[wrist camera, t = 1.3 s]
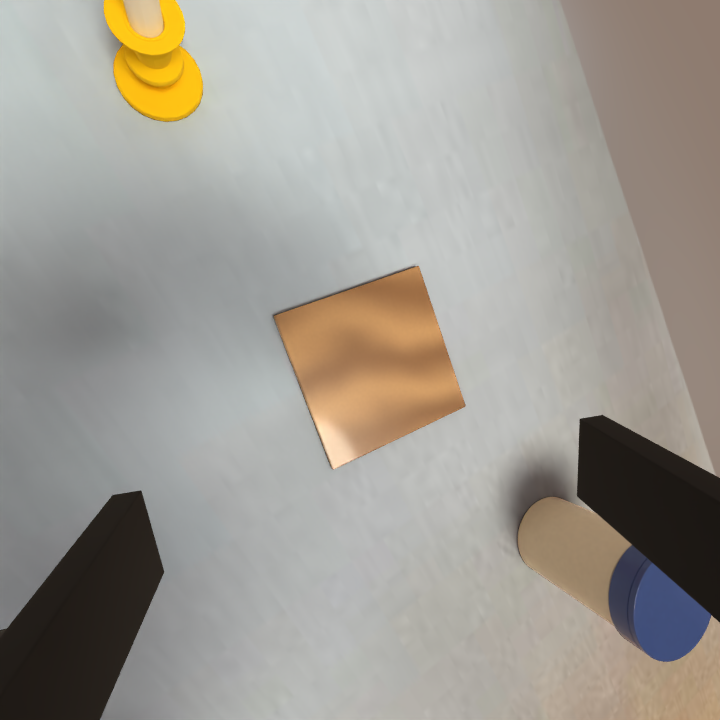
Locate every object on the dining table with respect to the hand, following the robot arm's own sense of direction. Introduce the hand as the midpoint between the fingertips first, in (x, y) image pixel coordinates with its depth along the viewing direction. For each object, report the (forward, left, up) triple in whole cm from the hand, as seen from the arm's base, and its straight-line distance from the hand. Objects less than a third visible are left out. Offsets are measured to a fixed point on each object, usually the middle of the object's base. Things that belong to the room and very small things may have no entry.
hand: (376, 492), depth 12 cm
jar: (-14, -22, -18) cm, 32 cm away
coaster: (+3, -7, -18) cm, 20 cm away
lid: (-14, -22, -8) cm, 27 cm away
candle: (+23, +6, -18) cm, 30 cm away
